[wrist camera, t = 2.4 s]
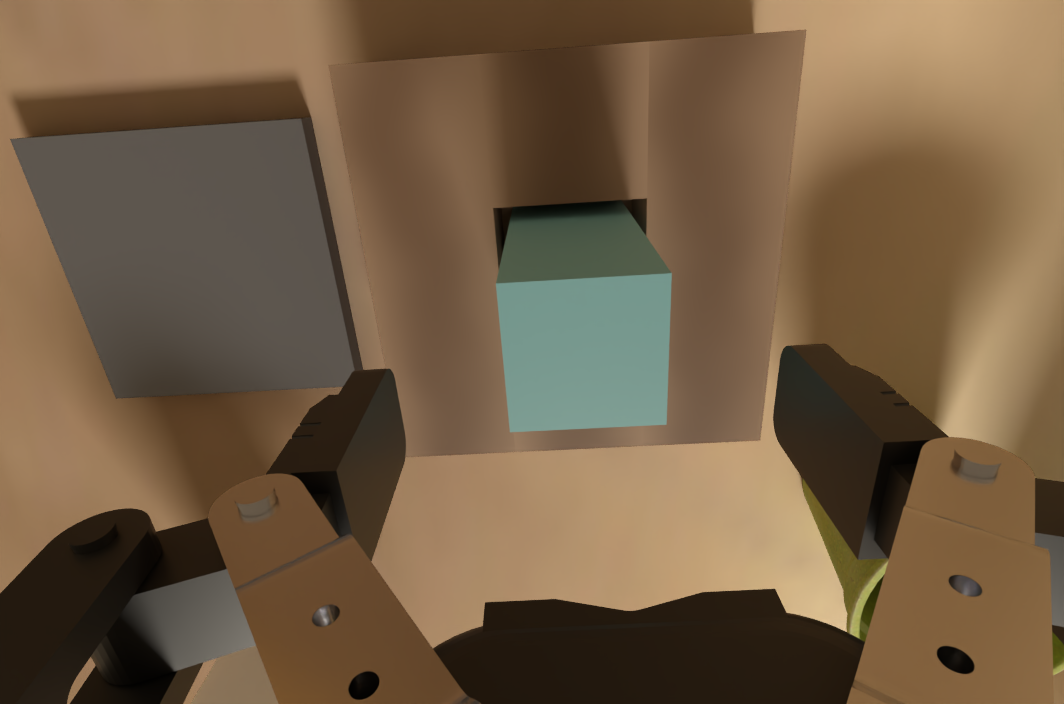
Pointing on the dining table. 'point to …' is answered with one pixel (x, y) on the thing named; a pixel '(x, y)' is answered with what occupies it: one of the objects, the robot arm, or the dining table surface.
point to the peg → (583, 319)
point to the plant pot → (868, 579)
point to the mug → (237, 681)
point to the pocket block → (573, 177)
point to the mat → (199, 255)
